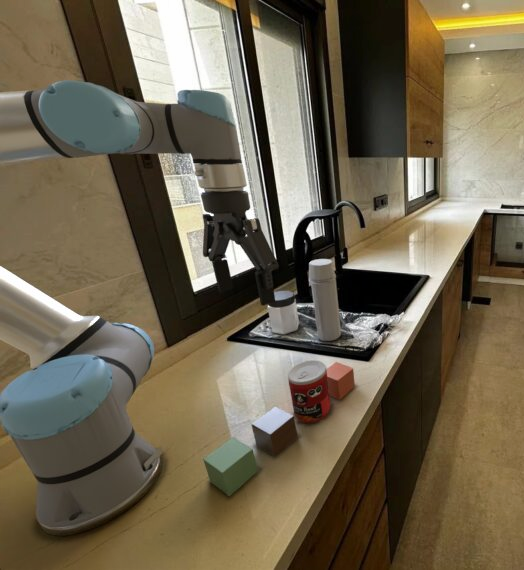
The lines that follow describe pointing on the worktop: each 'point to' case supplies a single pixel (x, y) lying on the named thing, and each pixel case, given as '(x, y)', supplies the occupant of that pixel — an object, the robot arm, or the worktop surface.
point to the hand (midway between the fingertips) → (246, 296)
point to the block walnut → (274, 430)
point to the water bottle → (325, 299)
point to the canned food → (309, 391)
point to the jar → (283, 313)
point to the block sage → (231, 465)
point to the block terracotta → (340, 380)
